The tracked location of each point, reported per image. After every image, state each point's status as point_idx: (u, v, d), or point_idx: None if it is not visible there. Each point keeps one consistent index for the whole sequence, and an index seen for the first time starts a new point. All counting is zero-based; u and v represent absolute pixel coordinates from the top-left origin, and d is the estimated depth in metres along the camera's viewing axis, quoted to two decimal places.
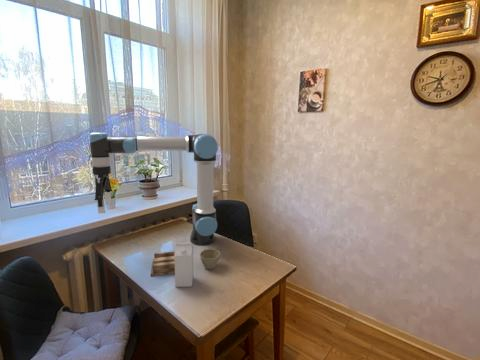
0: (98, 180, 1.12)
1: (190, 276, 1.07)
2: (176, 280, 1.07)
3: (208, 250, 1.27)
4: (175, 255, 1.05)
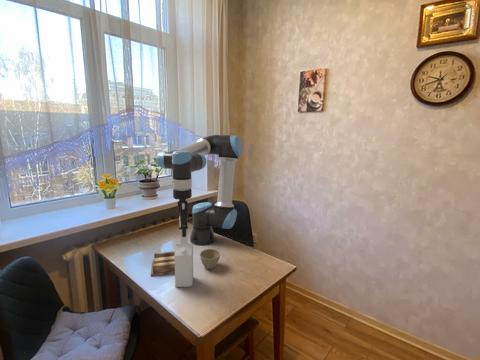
0: (183, 206, 0.97)
1: (190, 276, 1.07)
2: (176, 280, 1.07)
3: (208, 250, 1.27)
4: (175, 255, 1.05)
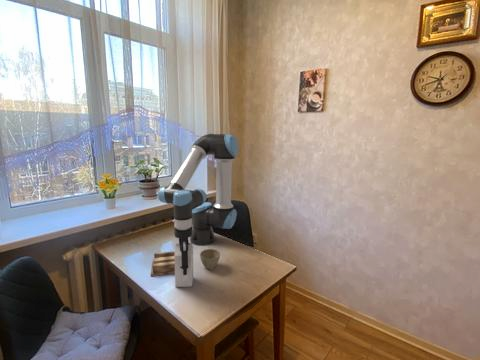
0: (184, 248, 1.01)
1: (190, 276, 1.07)
2: (176, 280, 1.07)
3: (208, 250, 1.27)
4: (175, 255, 1.05)
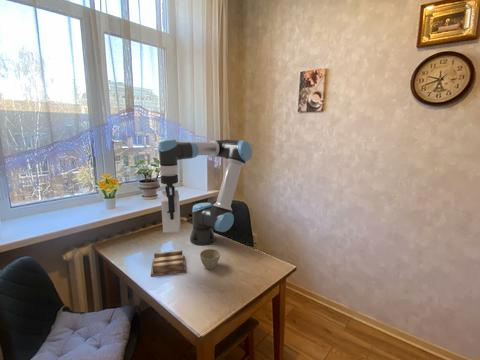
0: (170, 192, 1.06)
1: (177, 221, 1.12)
2: (163, 226, 1.12)
3: (208, 250, 1.27)
4: (162, 201, 1.09)
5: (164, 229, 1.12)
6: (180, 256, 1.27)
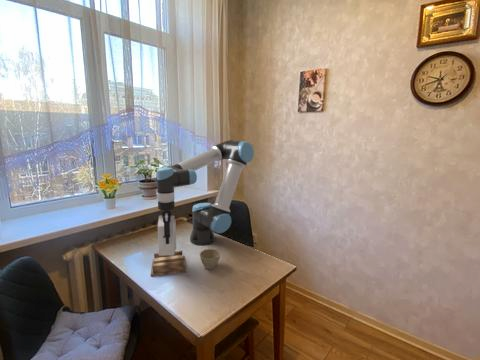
0: (166, 219, 1.12)
1: (172, 245, 1.18)
2: (159, 249, 1.18)
3: (208, 250, 1.27)
4: (158, 226, 1.15)
5: (160, 252, 1.18)
6: (180, 256, 1.27)
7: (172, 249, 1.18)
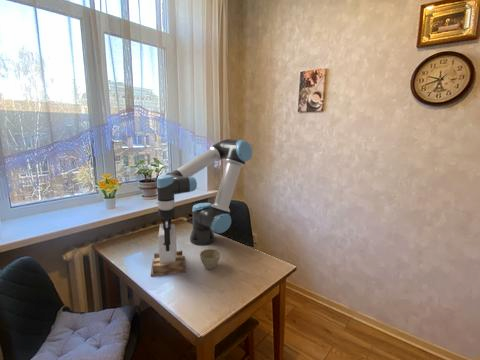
0: (166, 225, 1.12)
1: (173, 254, 1.19)
2: (160, 258, 1.19)
3: (208, 250, 1.27)
4: (159, 235, 1.17)
5: (161, 261, 1.19)
6: (180, 256, 1.27)
7: (173, 257, 1.19)
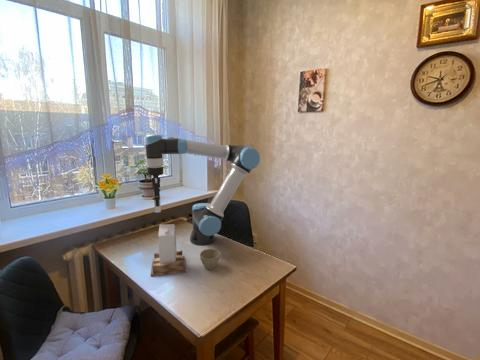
0: (156, 180, 1.16)
1: (173, 254, 1.19)
2: (160, 258, 1.19)
3: (208, 250, 1.27)
4: (159, 235, 1.16)
5: (161, 261, 1.19)
6: (180, 256, 1.27)
7: (173, 258, 1.19)
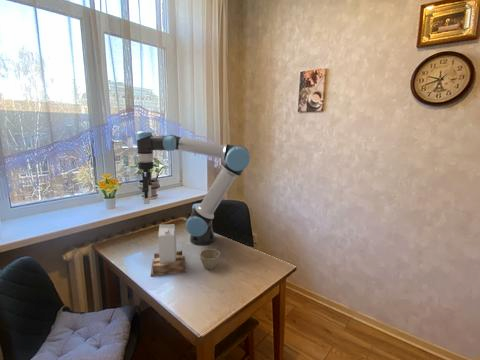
0: (145, 174, 1.25)
1: (173, 254, 1.19)
2: (160, 258, 1.19)
3: (208, 250, 1.27)
4: (159, 235, 1.16)
5: (161, 261, 1.19)
6: (180, 256, 1.27)
7: (173, 258, 1.19)
